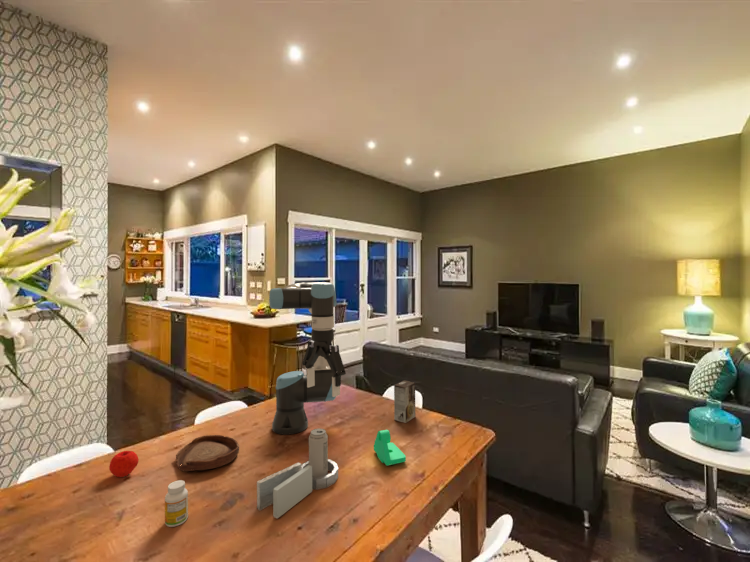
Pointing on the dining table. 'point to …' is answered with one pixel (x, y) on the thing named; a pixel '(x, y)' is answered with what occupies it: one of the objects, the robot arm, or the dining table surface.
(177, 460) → the basket
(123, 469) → the apple
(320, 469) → the energy drink can
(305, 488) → the hinge leaf
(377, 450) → the camera mount
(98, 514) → the dining table surface
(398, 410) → the coffee box
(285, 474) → the hinge fixed
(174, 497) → the supplement bottle
